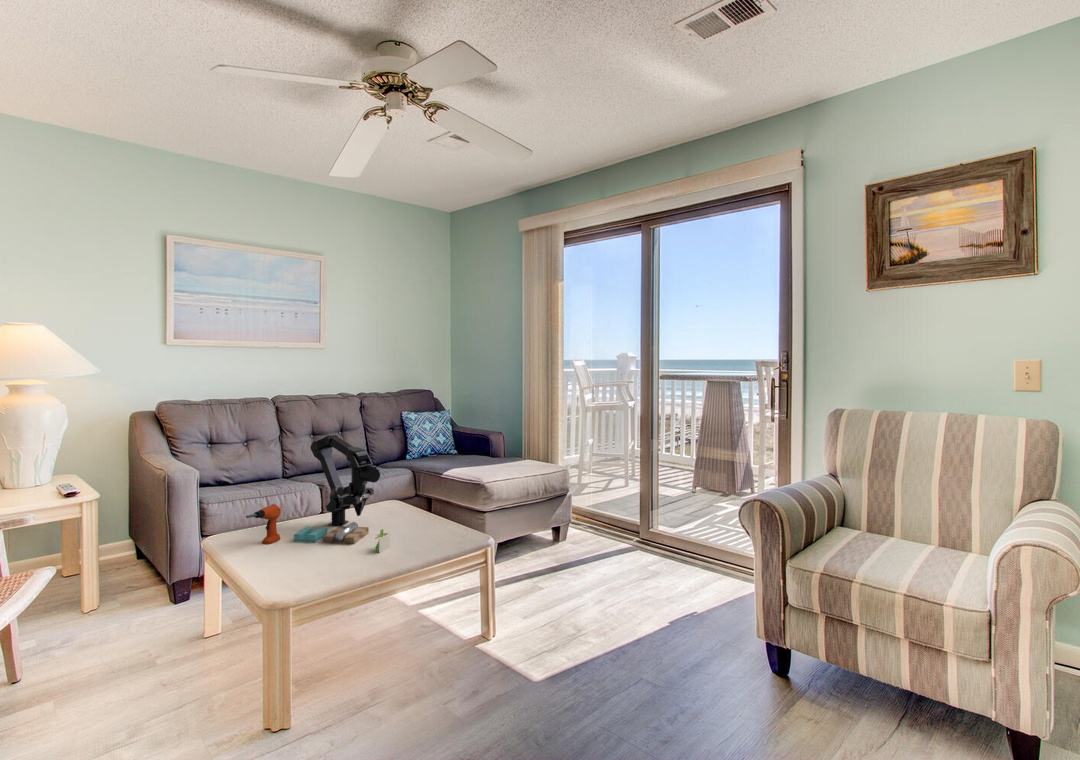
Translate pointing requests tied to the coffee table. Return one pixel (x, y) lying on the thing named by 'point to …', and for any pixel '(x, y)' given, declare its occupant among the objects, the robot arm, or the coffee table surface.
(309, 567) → the coffee table surface
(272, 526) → the toy drill
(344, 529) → the axle
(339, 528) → the wooden channel block
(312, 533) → the v block
